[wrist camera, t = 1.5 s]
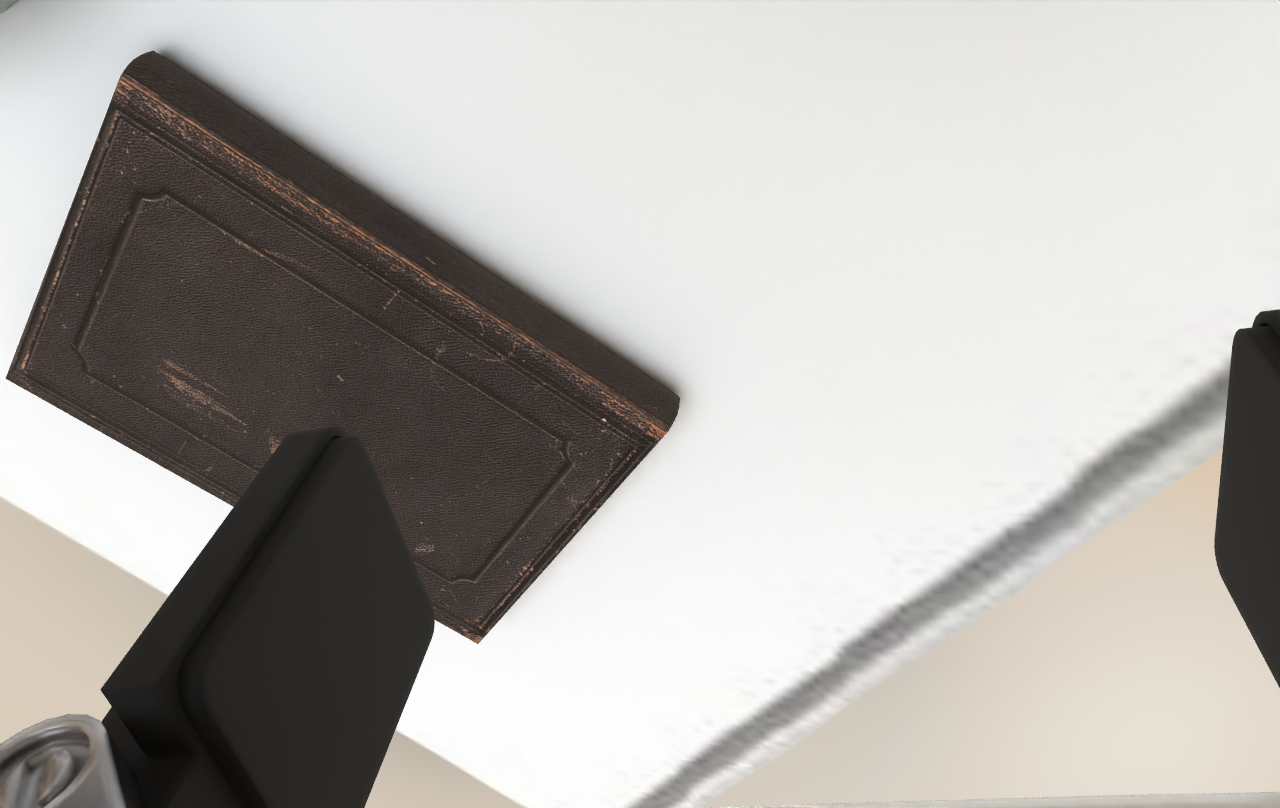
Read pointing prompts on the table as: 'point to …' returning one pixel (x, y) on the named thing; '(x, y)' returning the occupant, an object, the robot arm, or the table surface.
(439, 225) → the table surface
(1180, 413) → the table surface
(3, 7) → the green cooking pot
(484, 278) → the hardcover book
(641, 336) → the table surface
